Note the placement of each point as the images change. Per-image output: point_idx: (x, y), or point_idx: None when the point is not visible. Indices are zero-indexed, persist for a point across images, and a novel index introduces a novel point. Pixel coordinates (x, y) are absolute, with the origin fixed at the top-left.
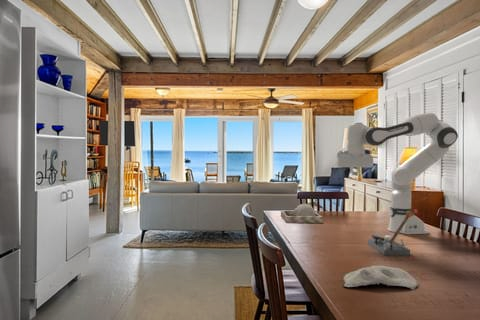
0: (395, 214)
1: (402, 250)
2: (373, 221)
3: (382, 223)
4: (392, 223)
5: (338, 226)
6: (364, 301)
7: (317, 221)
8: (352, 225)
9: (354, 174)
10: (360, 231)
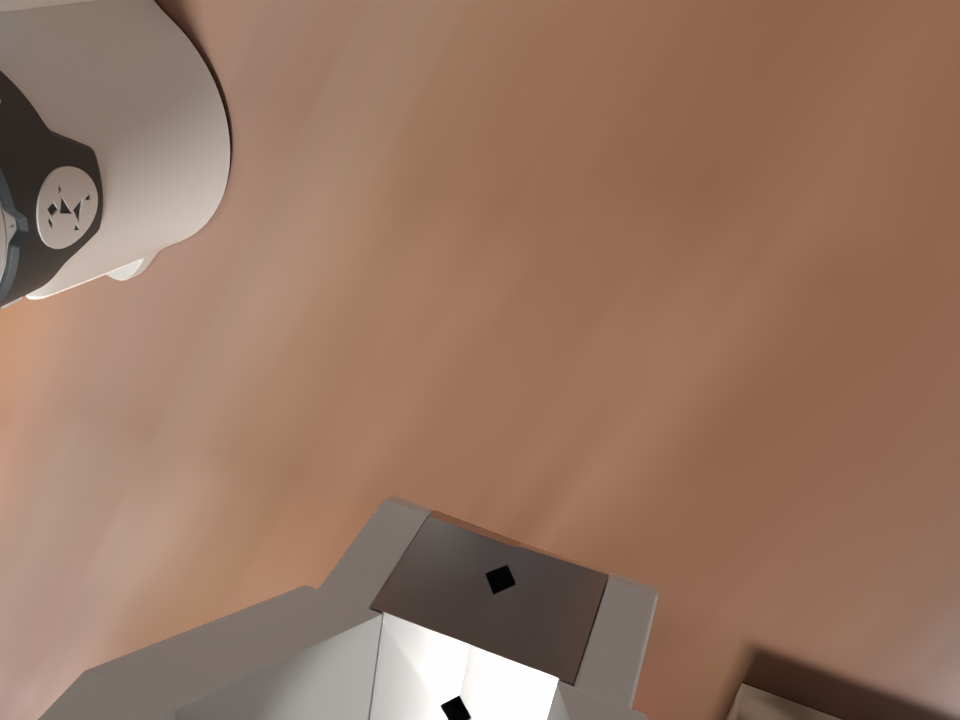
0: (48, 130)
1: None
2: (196, 552)
3: (153, 461)
4: (154, 134)
5: (665, 489)
6: None
7: (793, 713)
8: (480, 481)
9: (562, 567)
10: (557, 203)
